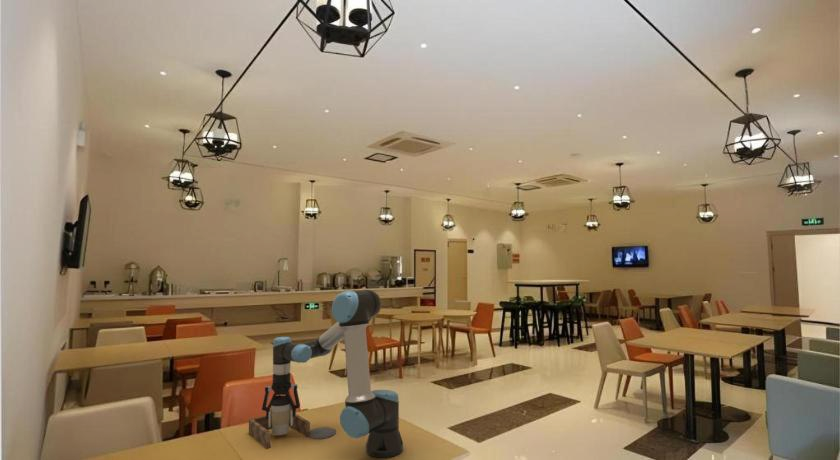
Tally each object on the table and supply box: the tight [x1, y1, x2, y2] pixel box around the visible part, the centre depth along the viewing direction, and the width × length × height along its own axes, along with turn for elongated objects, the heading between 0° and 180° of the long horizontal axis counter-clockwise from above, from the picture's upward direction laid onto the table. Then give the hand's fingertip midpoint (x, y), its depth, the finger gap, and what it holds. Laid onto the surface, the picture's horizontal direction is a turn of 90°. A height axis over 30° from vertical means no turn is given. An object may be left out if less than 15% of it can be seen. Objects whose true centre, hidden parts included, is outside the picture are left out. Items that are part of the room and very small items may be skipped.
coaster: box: [308, 426, 337, 440], centre depth 190 cm, size 12×12×1 cm
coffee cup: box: [270, 395, 292, 436], centre depth 188 cm, size 9×9×15 cm
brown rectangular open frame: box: [248, 413, 311, 450], centre depth 189 cm, size 22×19×6 cm
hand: (280, 425), depth 188 cm, fingers closed on coffee cup, 8 cm apart
